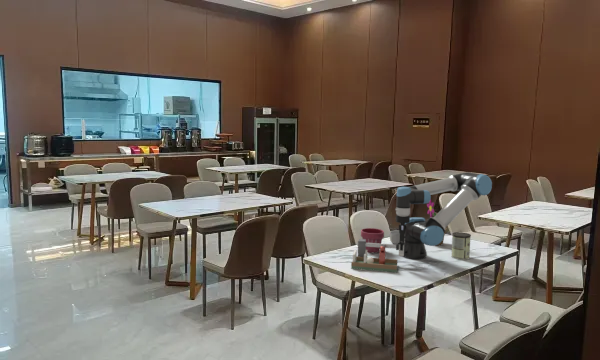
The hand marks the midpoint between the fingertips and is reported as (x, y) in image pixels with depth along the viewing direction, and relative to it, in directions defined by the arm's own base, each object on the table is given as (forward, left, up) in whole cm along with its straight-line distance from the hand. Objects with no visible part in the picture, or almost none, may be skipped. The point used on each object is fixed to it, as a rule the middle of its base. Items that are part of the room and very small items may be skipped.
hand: (401, 252), depth 249 cm
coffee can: (-34, -24, -7) cm, 42 cm away
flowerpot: (-21, -53, -7) cm, 57 cm away
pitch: (+14, +6, -7) cm, 17 cm away
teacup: (+3, -48, -7) cm, 49 cm away
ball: (+16, +9, -3) cm, 19 cm away
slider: (+11, +5, -5) cm, 13 cm away
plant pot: (+18, -24, -7) cm, 31 cm away
